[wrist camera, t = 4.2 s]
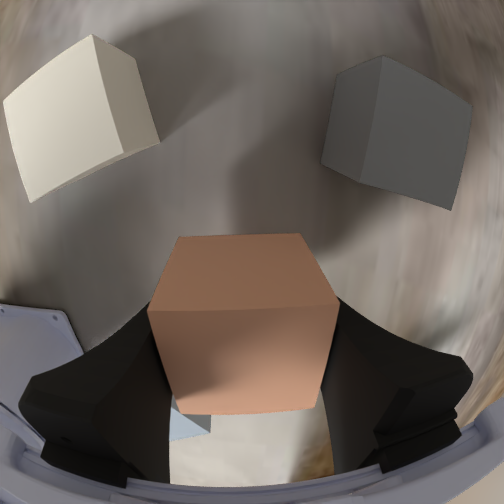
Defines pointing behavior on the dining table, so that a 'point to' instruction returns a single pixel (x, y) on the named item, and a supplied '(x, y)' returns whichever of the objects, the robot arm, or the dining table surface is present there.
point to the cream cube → (78, 116)
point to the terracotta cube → (243, 323)
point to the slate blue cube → (187, 424)
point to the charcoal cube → (397, 131)
